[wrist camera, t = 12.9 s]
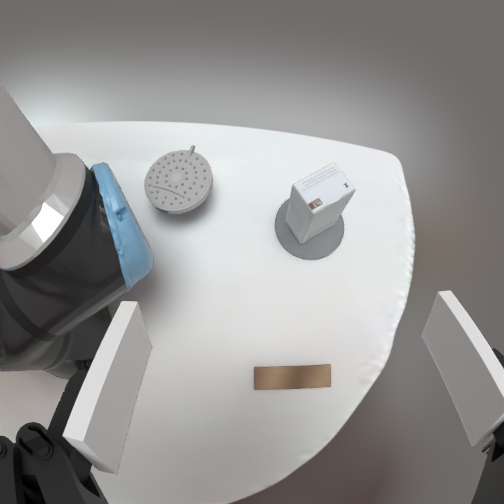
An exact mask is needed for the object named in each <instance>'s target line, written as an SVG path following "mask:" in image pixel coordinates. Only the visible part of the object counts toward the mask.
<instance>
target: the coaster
mask: <svg viewBox="0 0 504 504" xmlns="http://www.w3.org/2000/svg"><path fill="white" fill-rule="evenodd" d="M289 200H290V198H289V199H288V200H287V201H285V202H284V203H283V204H282V206H281V207H280V208H279V210H278V213H277V216H276V220H275V230H276V235H277V237H278V240H279V241H280V243H281V245H282V246H283V247H284V248H285V249H286V250H287V251H288V252H289V253H291V254H292V255H294V256H296V257H298V258H302V259H306V260H316V259H321V258H324V257H326V256H328V255H330V254H331V253H332V252H333V251H334V250H336V248H337V247H338V246H339V244H340V242H341V241H342V238H343V234H344V222H343V218H342V215H340V216H339V218H338V220H337V221H336V223H335V224H334V225H333V226H332V227H330V228H328V229H327V230H325V231H323V232H322V233H320V234H318V235H317V236H315V237H313V238H312V239H310V240H308V241H307V242H305V243H303V244H300V243H299V242H298V240H297V239H296V237H295V236H294V234H293V233H292V231H291V230H290V228H289V226H288V225H287V223H286V222H285V220H286V215H287V210H288V205H289Z"/></svg>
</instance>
